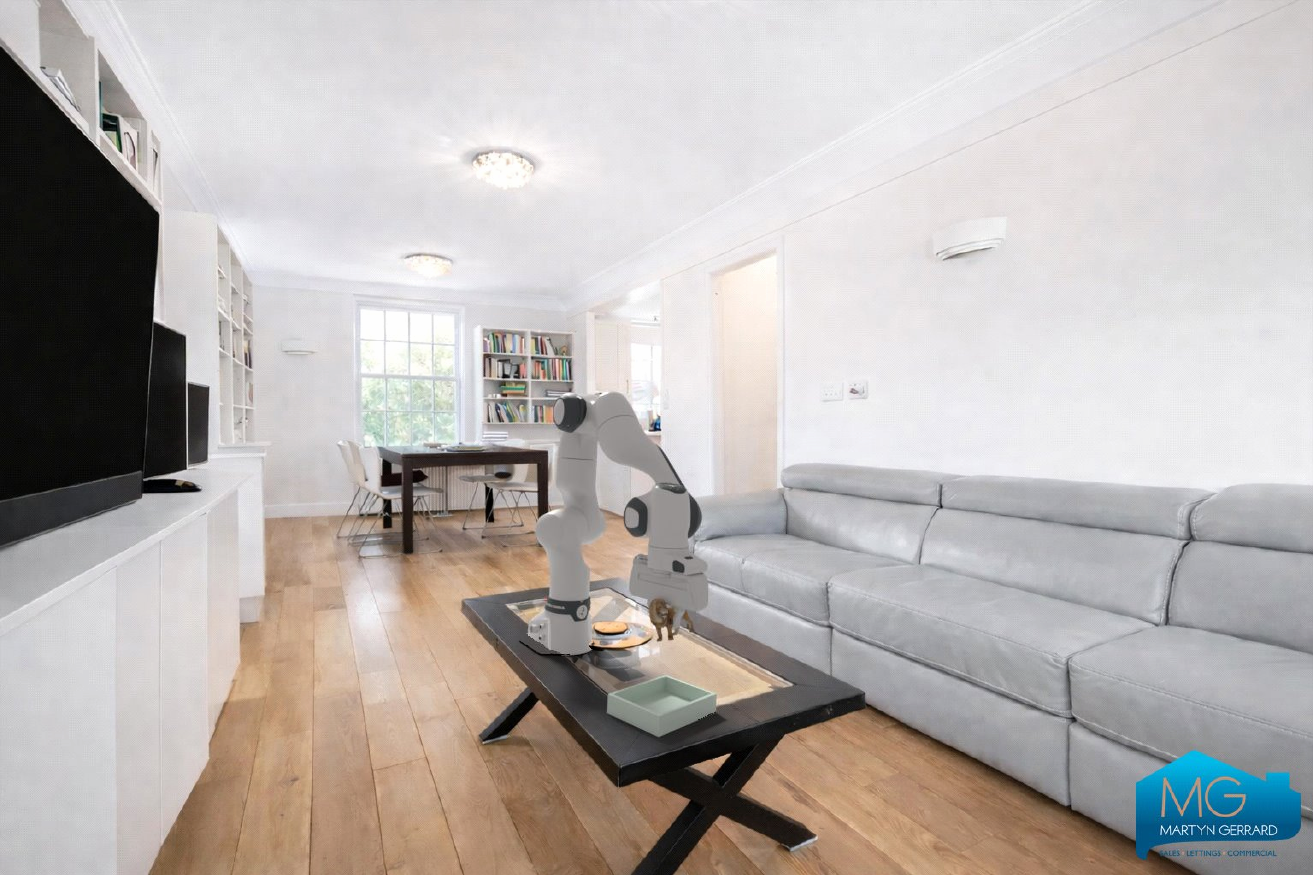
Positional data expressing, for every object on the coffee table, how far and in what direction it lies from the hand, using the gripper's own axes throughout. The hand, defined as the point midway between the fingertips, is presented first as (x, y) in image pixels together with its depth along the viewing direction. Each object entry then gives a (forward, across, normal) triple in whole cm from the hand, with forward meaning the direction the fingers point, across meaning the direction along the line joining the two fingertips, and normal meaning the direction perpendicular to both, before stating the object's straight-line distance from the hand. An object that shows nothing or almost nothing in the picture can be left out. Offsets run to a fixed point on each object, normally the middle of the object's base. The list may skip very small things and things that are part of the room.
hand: (665, 624), depth 135 cm
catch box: (+19, 0, 0) cm, 19 cm away
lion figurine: (+3, +1, +2) cm, 4 cm away
